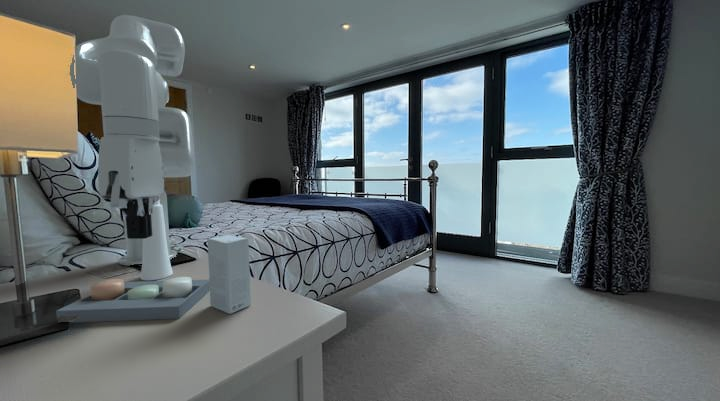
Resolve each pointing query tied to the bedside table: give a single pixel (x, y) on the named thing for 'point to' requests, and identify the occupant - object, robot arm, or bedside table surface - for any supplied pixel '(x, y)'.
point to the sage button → (143, 292)
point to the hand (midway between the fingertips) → (140, 237)
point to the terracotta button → (107, 290)
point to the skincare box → (229, 273)
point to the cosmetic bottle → (156, 249)
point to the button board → (135, 305)
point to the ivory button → (177, 287)
